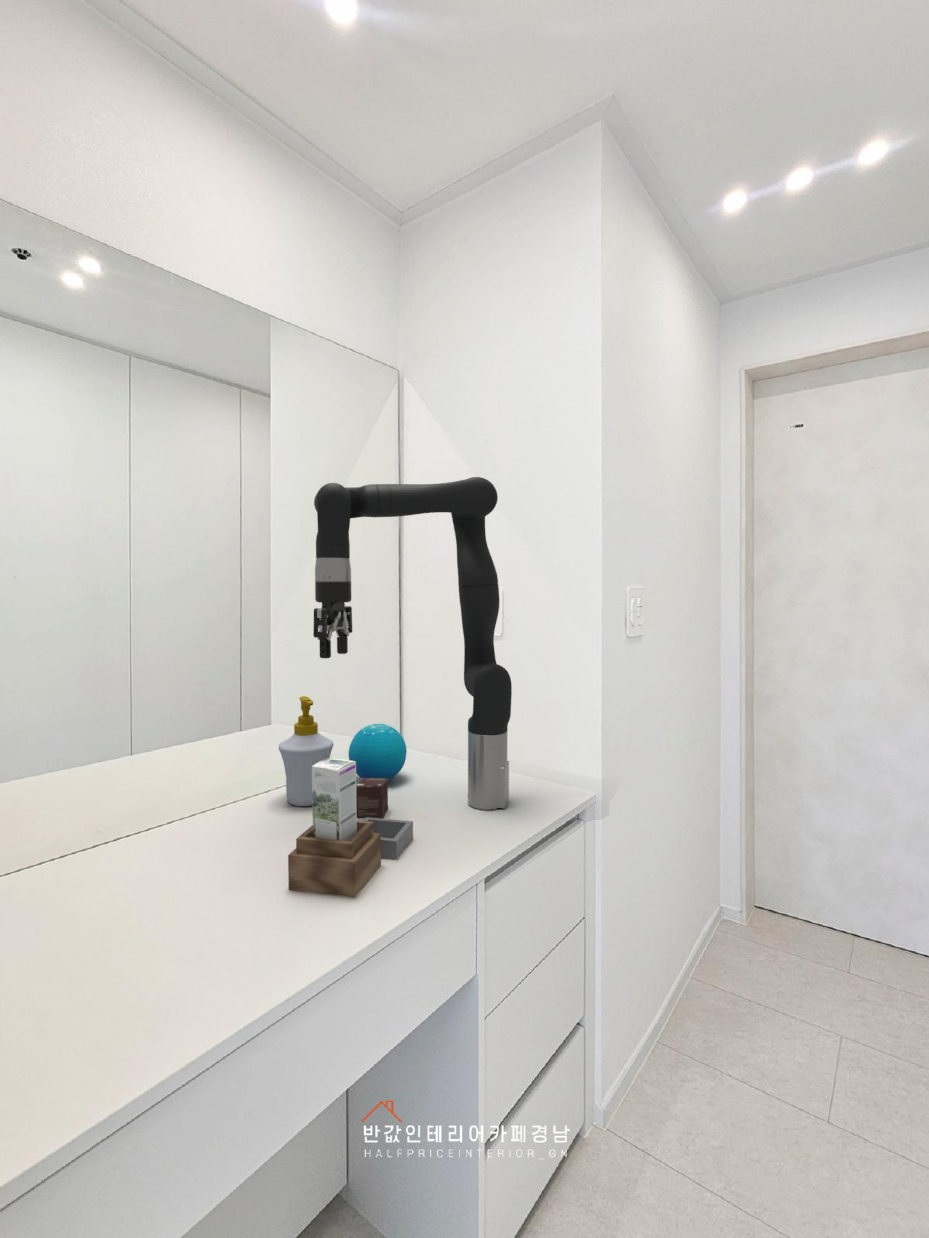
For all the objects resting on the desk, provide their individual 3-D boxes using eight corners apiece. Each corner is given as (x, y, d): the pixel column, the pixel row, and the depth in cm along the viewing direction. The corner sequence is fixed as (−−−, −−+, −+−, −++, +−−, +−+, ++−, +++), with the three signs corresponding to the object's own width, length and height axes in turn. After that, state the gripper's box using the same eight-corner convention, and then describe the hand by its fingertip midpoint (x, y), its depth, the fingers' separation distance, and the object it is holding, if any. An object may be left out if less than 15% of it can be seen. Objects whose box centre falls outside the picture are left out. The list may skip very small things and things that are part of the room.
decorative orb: (417, 776, 167) (416, 721, 166) (387, 793, 153) (387, 733, 153) (369, 769, 173) (368, 716, 172) (337, 785, 160) (336, 727, 159)
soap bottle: (285, 814, 140) (283, 705, 138) (274, 797, 151) (272, 696, 150) (340, 805, 146) (339, 700, 144) (326, 789, 157) (325, 691, 155)
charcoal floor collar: (412, 838, 127) (412, 821, 127) (396, 859, 117) (396, 841, 117) (366, 833, 129) (366, 817, 129) (346, 854, 119) (346, 836, 119)
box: (388, 809, 143) (388, 777, 143) (382, 819, 137) (382, 786, 137) (362, 808, 144) (362, 777, 143) (355, 818, 138) (355, 785, 137)
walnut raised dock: (381, 865, 115) (380, 819, 114) (355, 897, 103) (354, 847, 102) (320, 859, 117) (319, 814, 117) (288, 889, 106) (287, 840, 105)
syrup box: (358, 839, 111) (357, 759, 111) (339, 852, 106) (338, 768, 105) (331, 834, 114) (330, 756, 113) (311, 847, 108) (310, 764, 107)
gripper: (335, 579, 125) (336, 660, 126) (362, 580, 139) (363, 652, 140) (301, 579, 127) (302, 659, 128) (331, 580, 141) (332, 651, 142)
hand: (334, 655), depth 134 cm, fingers open, 8 cm apart
